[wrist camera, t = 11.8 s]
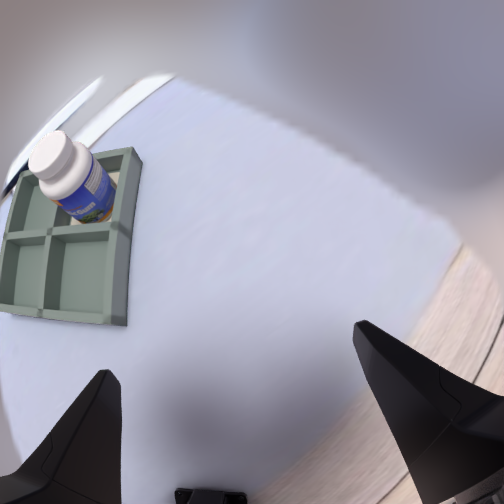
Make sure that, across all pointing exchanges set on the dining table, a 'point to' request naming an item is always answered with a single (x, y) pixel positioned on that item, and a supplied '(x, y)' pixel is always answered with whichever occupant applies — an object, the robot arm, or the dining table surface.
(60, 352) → the dining table surface
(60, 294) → the divided tray
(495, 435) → the robot arm
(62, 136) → the pill bottle
